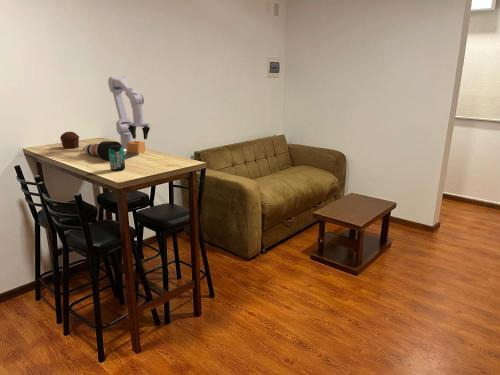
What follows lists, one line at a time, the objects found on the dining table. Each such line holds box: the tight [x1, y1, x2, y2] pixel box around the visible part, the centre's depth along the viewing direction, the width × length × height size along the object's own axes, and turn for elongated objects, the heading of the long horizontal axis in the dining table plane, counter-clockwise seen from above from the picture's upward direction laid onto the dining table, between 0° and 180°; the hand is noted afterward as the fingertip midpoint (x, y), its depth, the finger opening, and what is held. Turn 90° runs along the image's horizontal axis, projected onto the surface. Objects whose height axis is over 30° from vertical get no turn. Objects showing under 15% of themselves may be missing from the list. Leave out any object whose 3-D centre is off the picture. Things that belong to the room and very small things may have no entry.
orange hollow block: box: [126, 140, 146, 154], centre depth 238 cm, size 8×8×6 cm
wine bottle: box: [82, 140, 123, 161], centre depth 226 cm, size 10×34×10 cm, turn 47°
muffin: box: [59, 131, 80, 150], centre depth 251 cm, size 12×11×10 cm
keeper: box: [123, 149, 140, 160], centre depth 227 cm, size 14×11×4 cm
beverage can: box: [109, 145, 126, 172], centre depth 196 cm, size 7×7×12 cm
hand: (139, 138), depth 236 cm, fingers open, 7 cm apart
